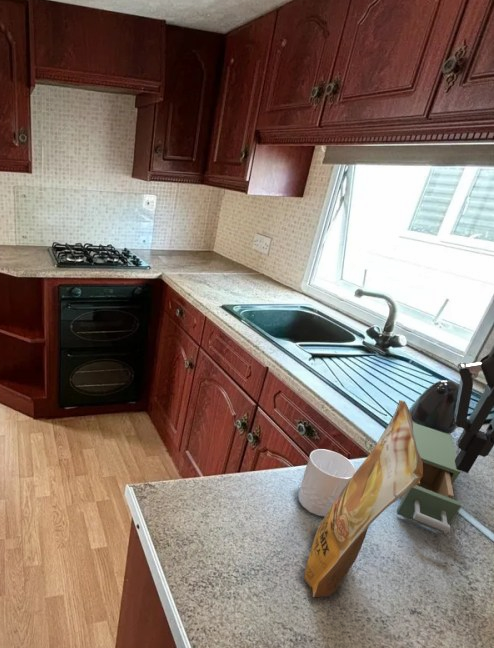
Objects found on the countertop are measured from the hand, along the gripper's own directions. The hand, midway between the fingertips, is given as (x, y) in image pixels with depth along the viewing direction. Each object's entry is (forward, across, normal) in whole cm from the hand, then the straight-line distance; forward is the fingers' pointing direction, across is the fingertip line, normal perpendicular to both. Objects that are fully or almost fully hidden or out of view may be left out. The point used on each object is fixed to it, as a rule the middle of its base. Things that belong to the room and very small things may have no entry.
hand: (461, 466), depth 66 cm
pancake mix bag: (+16, -13, -16) cm, 27 cm away
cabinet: (+16, 0, +20) cm, 26 cm away
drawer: (+15, 0, +7) cm, 17 cm away
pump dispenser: (+17, +3, +42) cm, 45 cm away
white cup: (+16, -17, -4) cm, 24 cm away
